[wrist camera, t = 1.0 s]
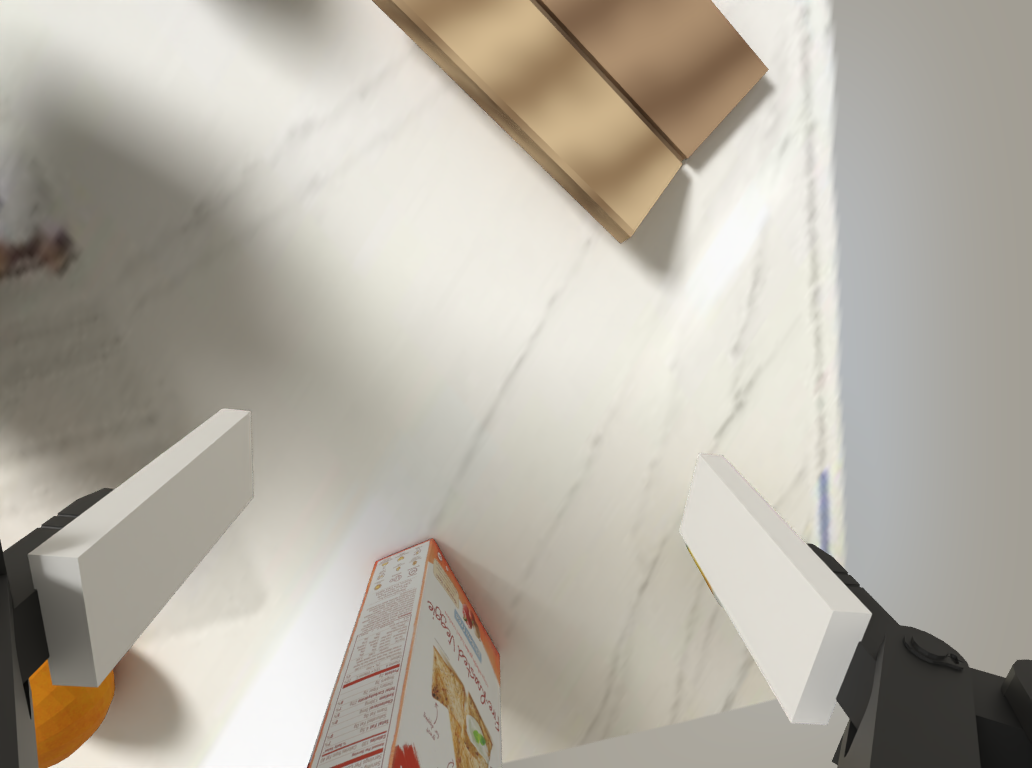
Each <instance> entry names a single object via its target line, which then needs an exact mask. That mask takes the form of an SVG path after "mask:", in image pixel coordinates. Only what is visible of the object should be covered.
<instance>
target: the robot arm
mask: <svg viewBox="0 0 1032 768" xmlns="http://www.w3.org/2000/svg"><path fill="white" fill-rule="evenodd" d="M253 497H254V488H253V459H252V429H251V411H246V410H236V409H225V408H222V409H221V410H220V411H218V412H217V413H216V414H214V415H213V416H212V417H210V418H209V419H208V420H206V421H205V422H204V423H202V424H201V425H200V426H198V427H197V428H196V429H194V430H193V431H192V432H190V433H189V434H188V435H186V436H185V437H184V438H182V439H181V440H180V441H178V442H177V443H176V444H174V445H173V446H172V447H170V448H169V449H168V450H166V451H165V452H164V453H162V454H161V455H160V456H158V457H157V458H156V459H154V460H153V461H152V462H150V463H149V464H148V465H146V466H145V467H144V468H142V469H141V470H140V471H138V472H137V473H136V474H134V475H133V476H132V477H130V478H129V479H128V480H126V481H125V482H124V483H122V484H121V485H120V486H118V487H117V488H116V489H109V488H104V489H101V490H99V491H97V492H94V493H92V494H89V495H87V496H85V497H82V498H80V499H78V500H76V501H75V502H73V503H72V504H71V505H69V506H68V507H66V508H65V509H63V510H62V511H61V512H59V513H58V516H54V517H52V518H51V519H49V520H48V521H46V522H45V523H44V524H42V526H41V528H37V529H35V530H34V531H32V532H31V533H29V534H28V535H27V536H25V537H24V538H22V539H21V540H20V541H18V542H17V543H15V544H14V545H12V546H11V547H10V548H8V549H7V550H5V551H4V552H3V551H2V546H1V541H0V768H39V766H38V755H37V744H36V733H35V723H34V712H33V701H32V691H31V687H30V682H29V677H30V676H31V675H32V674H33V673H34V672H35V671H36V670H37V669H38V668H39V667H40V666H41V665H42V664H43V663H44V662H45V661H46V660H47V659H48V664H49V669H50V675H51V680H52V685H62V686H81V687H99V685H100V684H101V683H102V682H103V680H104V679H105V678H106V677H107V676H108V674H109V673H110V672H111V671H112V669H113V668H114V667H115V666H116V665H117V663H118V662H119V661H120V660H121V658H122V657H123V656H124V655H125V654H126V652H127V651H128V650H129V649H130V647H131V646H132V645H133V644H134V643H135V641H136V640H137V639H138V638H139V636H140V635H141V634H142V633H143V632H144V630H145V629H146V628H147V627H148V625H149V624H150V623H151V622H152V621H153V619H154V618H155V617H156V616H157V614H158V613H159V612H160V611H161V610H162V608H163V607H164V606H165V605H166V603H167V602H168V601H169V600H170V599H171V597H172V596H173V595H174V594H175V592H176V591H177V590H178V589H179V588H180V586H181V585H182V584H183V583H184V581H185V580H186V579H187V578H188V577H189V575H190V574H191V573H192V572H193V570H194V569H195V568H196V567H197V566H198V564H199V563H200V562H201V561H202V559H203V558H204V557H205V556H206V555H207V553H208V552H209V551H210V550H211V548H212V547H213V546H214V545H215V544H216V542H217V541H218V540H219V539H220V537H221V536H222V535H223V534H224V533H225V531H226V530H227V529H228V528H229V526H230V525H231V524H232V523H233V522H234V520H235V519H236V518H237V517H238V515H239V514H240V513H241V512H242V511H243V509H244V508H245V507H246V506H247V504H248V503H249V502H250V501H251V500H252V498H253ZM679 532H680V534H681V535H682V537H683V539H684V541H685V542H686V544H687V546H688V547H689V549H690V551H691V553H692V554H693V556H694V558H695V559H696V561H697V563H698V565H699V566H700V568H701V570H702V571H703V573H704V575H705V577H706V578H707V580H708V582H709V583H710V585H711V587H712V589H713V590H714V592H715V594H716V595H717V597H718V599H719V600H720V602H721V604H722V606H723V607H724V609H725V611H726V612H727V614H728V616H729V618H730V619H731V621H732V623H733V624H734V626H735V628H736V630H737V631H738V633H739V635H740V636H741V638H742V640H743V642H744V643H745V645H746V647H747V648H748V650H749V652H750V654H751V655H752V657H753V659H754V660H755V662H756V664H757V665H758V667H759V669H760V671H761V672H762V674H763V676H764V677H765V679H766V681H767V683H768V684H769V686H770V688H771V689H772V691H773V693H774V695H775V696H776V698H777V700H778V701H779V703H780V705H781V706H782V708H783V710H784V711H785V713H786V715H787V717H788V718H789V720H790V722H791V723H799V724H818V725H828V722H829V720H830V717H831V714H832V712H833V710H834V707H835V705H836V702H838V703H839V704H840V706H841V707H842V709H843V710H844V711H845V713H846V714H847V716H848V717H849V722H848V724H847V726H846V729H845V731H844V734H843V736H842V738H841V741H840V743H839V745H838V748H837V750H836V753H835V755H834V757H833V760H832V762H833V763H835V764H837V765H838V767H837V768H1032V660H1017V661H1016V662H1015V663H1014V664H1013V666H1012V668H1011V670H1010V671H1009V673H1008V675H1007V677H1006V678H1004V677H1000V676H997V675H993V674H990V673H986V672H983V671H979V670H976V669H973V668H969V666H968V664H967V662H966V661H965V660H964V658H963V657H962V656H961V655H960V654H959V653H958V652H957V651H956V650H954V649H953V648H952V647H950V646H949V645H948V644H946V643H945V642H944V641H942V640H940V639H938V638H936V637H934V636H933V635H931V634H929V633H927V632H924V631H921V630H919V629H916V628H913V627H908V626H900V625H899V624H898V623H897V622H896V621H895V620H894V619H893V618H892V617H891V616H890V615H889V614H888V613H887V612H886V611H885V610H884V609H883V608H882V607H881V606H880V605H879V604H878V603H877V602H876V601H875V600H874V599H873V598H872V597H871V596H870V595H869V594H868V593H867V592H866V591H865V590H864V588H861V587H860V586H859V583H858V582H857V581H856V580H855V579H854V578H853V577H852V576H851V575H848V572H847V571H846V570H845V569H844V568H843V567H842V566H841V565H840V564H839V563H838V562H837V561H836V560H835V559H834V558H833V557H832V556H830V555H829V554H827V553H826V552H824V551H823V550H821V549H820V548H818V547H816V546H815V545H813V544H807V543H805V542H804V541H803V540H802V539H801V538H800V537H799V535H798V534H797V533H796V532H795V531H794V530H793V529H792V528H791V527H790V526H789V525H788V524H787V523H786V522H785V521H784V520H783V518H782V517H781V516H780V515H779V514H778V513H777V512H776V511H775V510H774V509H773V508H772V507H771V506H770V505H769V504H768V503H767V501H766V500H765V499H764V498H763V497H762V496H761V495H760V494H759V493H758V492H757V491H756V490H755V489H754V488H753V487H752V486H751V484H750V483H749V482H748V481H747V480H746V479H745V478H744V477H743V476H742V475H741V474H740V473H739V472H738V471H737V470H736V469H735V468H734V466H733V465H732V464H731V463H730V462H729V461H728V460H727V459H726V458H725V457H724V456H723V455H714V454H703V453H699V454H698V458H697V462H696V466H695V470H694V474H693V478H692V482H691V486H690V490H689V494H688V498H687V502H686V506H685V510H684V514H683V518H682V522H681V526H680V530H679Z"/></svg>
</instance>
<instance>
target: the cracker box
mask: <svg viewBox="0 0 1032 768" xmlns="http://www.w3.org/2000/svg"><path fill="white" fill-rule="evenodd" d="M307 768H502V739H501V698H500V656H499V653H498V652H497V650H496V648H495V646H494V645H493V643H492V641H491V639H490V638H489V636H488V634H487V632H486V630H485V629H484V627H483V625H482V624H481V622H480V620H479V618H478V616H477V615H476V613H475V611H474V609H473V608H472V606H471V604H470V602H469V600H468V599H467V597H466V595H465V593H464V592H463V590H462V588H461V586H460V585H459V583H458V581H457V579H456V578H455V576H454V574H453V572H452V570H451V569H450V567H449V565H448V563H447V561H446V560H445V558H444V556H443V554H442V552H441V551H440V549H439V547H438V545H437V544H436V542H435V540H434V539H433V538H432V539H430V540H427V541H425V542H422V543H420V544H417V545H415V546H412V547H410V548H407V549H405V550H402V551H400V552H397V553H395V554H393V555H390V556H388V557H385V558H383V559H380V560H378V561H376V562H375V565H374V568H373V571H372V573H371V577H370V579H369V583H368V586H367V589H366V592H365V595H364V598H363V601H362V604H361V607H360V610H359V613H358V616H357V619H356V622H355V625H354V628H353V631H352V634H351V637H350V640H349V643H348V646H347V649H346V652H345V655H344V658H343V661H342V664H341V667H340V670H339V673H338V676H337V679H336V682H335V685H334V688H333V691H332V694H331V697H330V700H329V703H328V706H327V709H326V712H325V715H324V718H323V721H322V724H321V727H320V730H319V733H318V736H317V739H316V742H315V745H314V748H313V751H312V754H311V757H310V760H309V763H308V766H307Z"/></svg>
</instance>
